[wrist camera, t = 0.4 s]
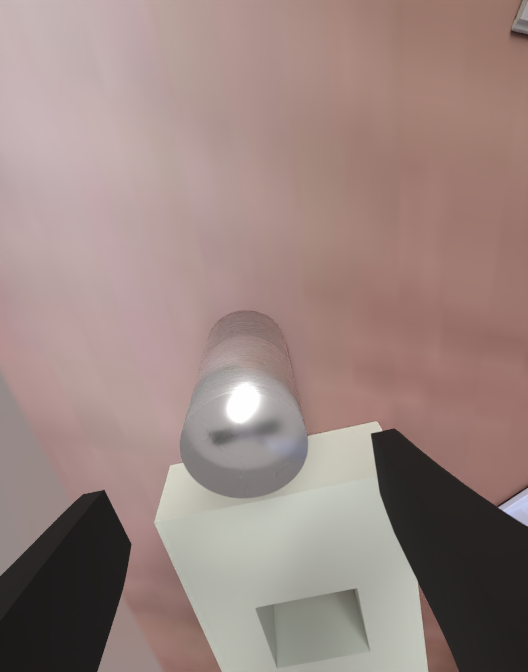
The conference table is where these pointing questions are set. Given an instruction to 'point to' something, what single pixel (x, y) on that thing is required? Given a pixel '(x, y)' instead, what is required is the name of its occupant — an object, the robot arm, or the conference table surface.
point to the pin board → (298, 567)
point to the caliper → (521, 18)
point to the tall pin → (244, 411)
